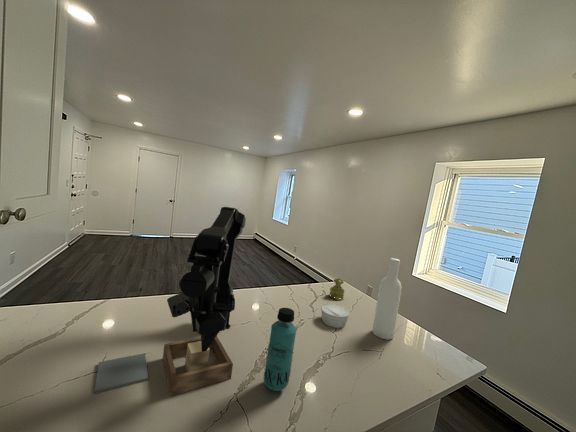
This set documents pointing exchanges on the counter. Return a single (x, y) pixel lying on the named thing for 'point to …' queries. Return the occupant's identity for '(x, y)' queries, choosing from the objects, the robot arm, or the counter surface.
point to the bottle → (388, 302)
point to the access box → (196, 377)
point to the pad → (121, 372)
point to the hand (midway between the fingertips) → (199, 340)
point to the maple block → (196, 357)
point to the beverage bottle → (280, 351)
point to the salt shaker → (337, 290)
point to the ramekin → (334, 315)
